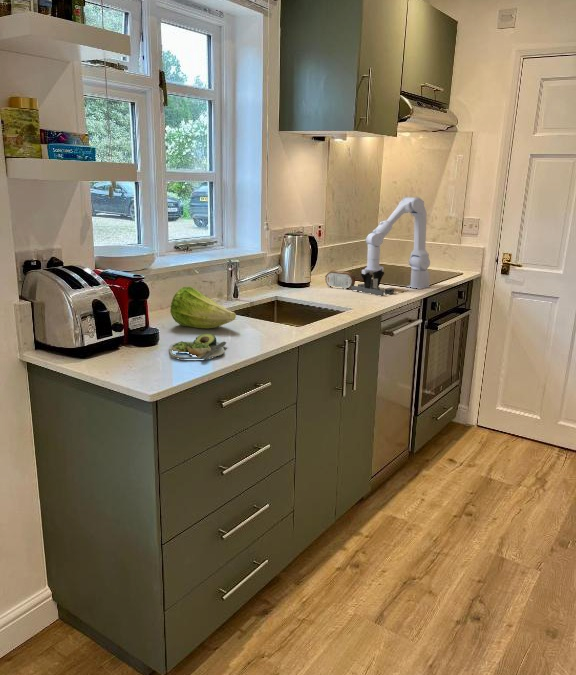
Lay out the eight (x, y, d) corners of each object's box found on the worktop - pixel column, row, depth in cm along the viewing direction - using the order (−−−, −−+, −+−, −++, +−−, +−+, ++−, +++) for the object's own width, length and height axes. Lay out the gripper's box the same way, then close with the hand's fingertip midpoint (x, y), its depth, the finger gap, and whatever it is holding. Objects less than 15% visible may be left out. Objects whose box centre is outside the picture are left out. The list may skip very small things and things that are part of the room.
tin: (355, 289, 279) (355, 272, 277) (352, 290, 277) (353, 273, 274) (327, 286, 287) (327, 269, 284) (324, 287, 284) (324, 270, 282)
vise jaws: (361, 288, 282) (361, 283, 282) (394, 293, 269) (395, 288, 268) (349, 290, 276) (349, 285, 275) (383, 296, 263) (383, 291, 262)
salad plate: (231, 363, 168) (231, 347, 167) (169, 366, 165) (168, 350, 163) (225, 344, 186) (225, 331, 185) (169, 347, 183) (168, 333, 182)
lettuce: (246, 330, 207) (221, 343, 195) (192, 317, 218) (165, 329, 206) (246, 291, 202) (221, 302, 190) (190, 280, 213) (163, 290, 201)
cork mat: (391, 288, 283) (391, 287, 283) (408, 290, 276) (408, 290, 276) (381, 290, 278) (381, 289, 278) (399, 293, 271) (399, 292, 271)
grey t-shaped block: (371, 290, 278) (371, 277, 276) (384, 292, 273) (384, 279, 271) (366, 290, 276) (367, 278, 274) (379, 293, 270) (380, 280, 269)
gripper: (375, 256, 279) (374, 284, 283) (357, 259, 269) (355, 288, 273) (387, 258, 274) (386, 286, 278) (369, 261, 265) (367, 290, 268)
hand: (372, 287), depth 275 cm, fingers open, 7 cm apart
